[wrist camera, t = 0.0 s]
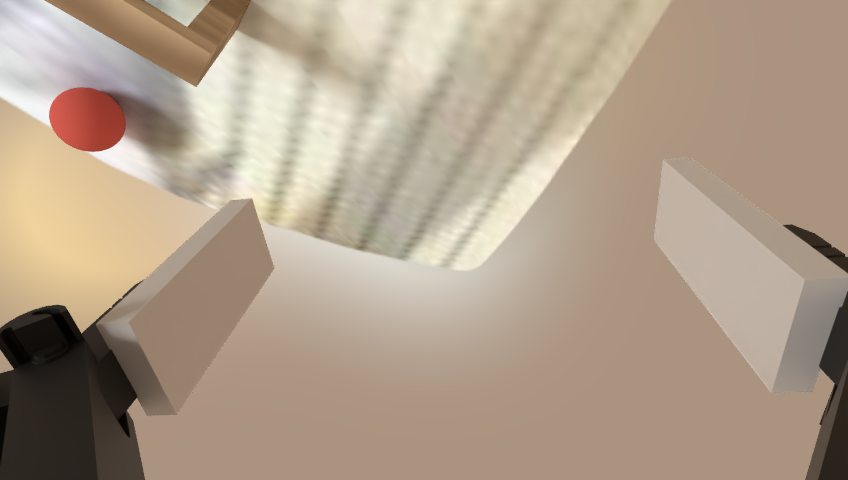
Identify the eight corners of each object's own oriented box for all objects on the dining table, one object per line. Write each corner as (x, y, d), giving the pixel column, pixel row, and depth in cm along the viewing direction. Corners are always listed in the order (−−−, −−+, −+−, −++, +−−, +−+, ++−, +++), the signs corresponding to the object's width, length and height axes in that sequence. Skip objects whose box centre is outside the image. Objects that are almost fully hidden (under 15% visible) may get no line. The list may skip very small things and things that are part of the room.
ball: (76, 63, 41) (39, 96, 38) (143, 99, 44) (114, 133, 40) (66, 107, 45) (30, 142, 41) (128, 138, 47) (100, 174, 43)
